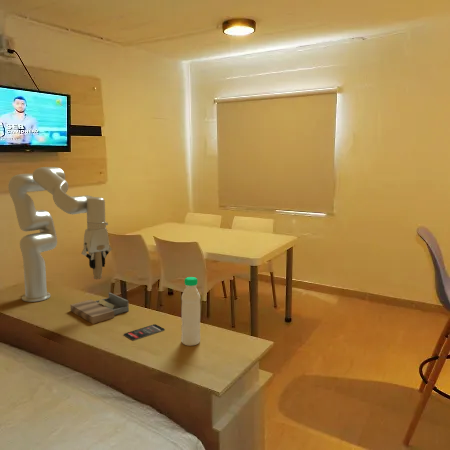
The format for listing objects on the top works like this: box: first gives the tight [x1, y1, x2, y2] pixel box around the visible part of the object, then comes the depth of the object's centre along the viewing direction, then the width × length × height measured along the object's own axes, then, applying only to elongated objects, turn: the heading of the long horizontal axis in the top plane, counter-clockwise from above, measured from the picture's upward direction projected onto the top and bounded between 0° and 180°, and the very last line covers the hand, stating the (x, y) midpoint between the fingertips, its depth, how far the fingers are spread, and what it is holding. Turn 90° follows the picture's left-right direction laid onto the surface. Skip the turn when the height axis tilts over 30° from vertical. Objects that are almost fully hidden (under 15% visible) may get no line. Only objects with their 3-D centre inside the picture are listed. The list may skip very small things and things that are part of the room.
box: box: [94, 292, 129, 317], centre depth 187 cm, size 16×8×5 cm, turn 46°
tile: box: [98, 298, 114, 309], centre depth 186 cm, size 5×5×2 cm
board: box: [69, 299, 115, 325], centre depth 181 cm, size 20×10×3 cm, turn 46°
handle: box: [92, 245, 105, 280], centre depth 180 cm, size 5×6×15 cm
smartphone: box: [123, 323, 165, 342], centre depth 163 cm, size 7×1×15 cm
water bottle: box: [181, 276, 201, 347], centre depth 153 cm, size 7×7×25 cm
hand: (97, 266), depth 180 cm, fingers closed on handle, 4 cm apart
